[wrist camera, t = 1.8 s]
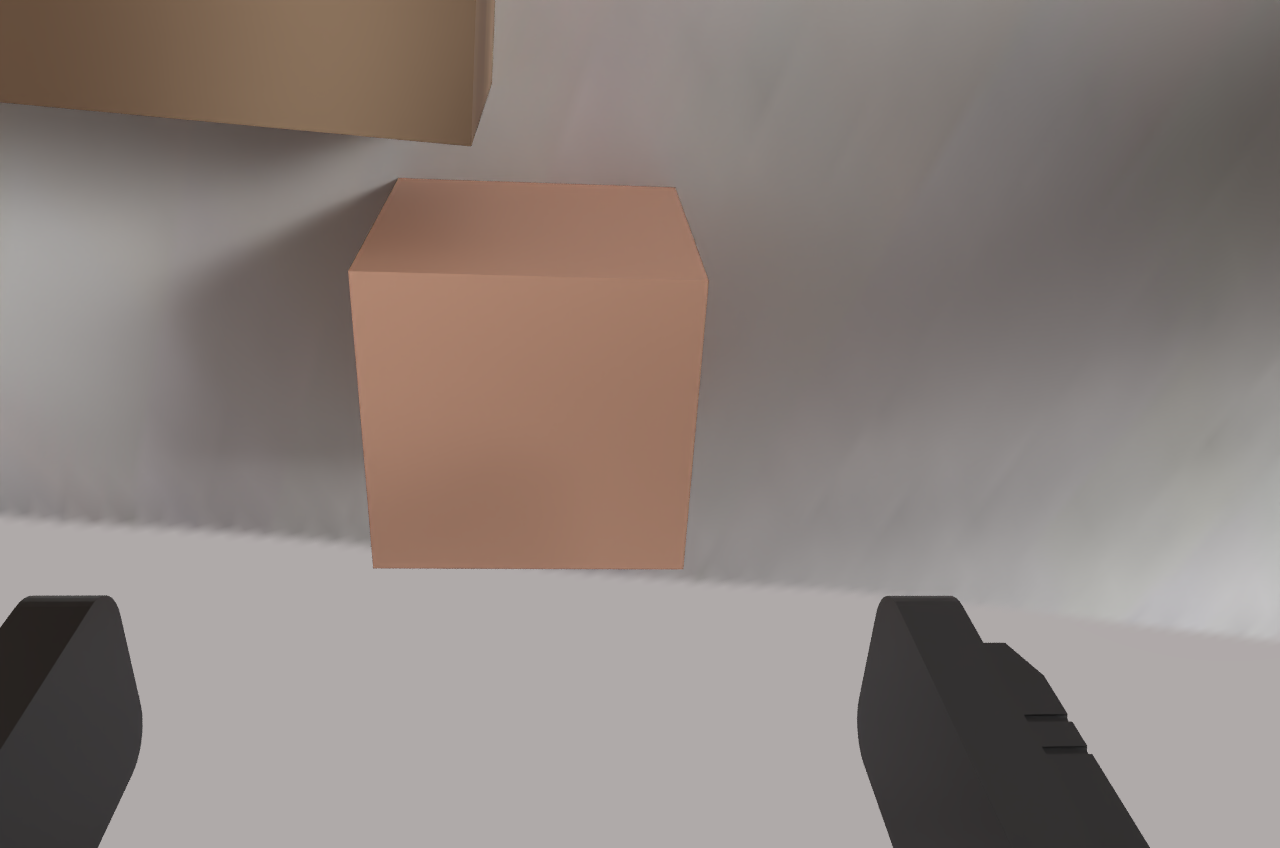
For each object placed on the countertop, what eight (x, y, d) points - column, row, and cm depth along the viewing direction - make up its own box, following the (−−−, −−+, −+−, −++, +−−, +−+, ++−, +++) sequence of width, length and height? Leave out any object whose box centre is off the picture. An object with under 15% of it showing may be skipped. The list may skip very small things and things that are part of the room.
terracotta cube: (674, 186, 19) (709, 281, 15) (657, 425, 21) (683, 569, 17) (399, 177, 18) (347, 271, 14) (413, 422, 21) (373, 568, 16)
